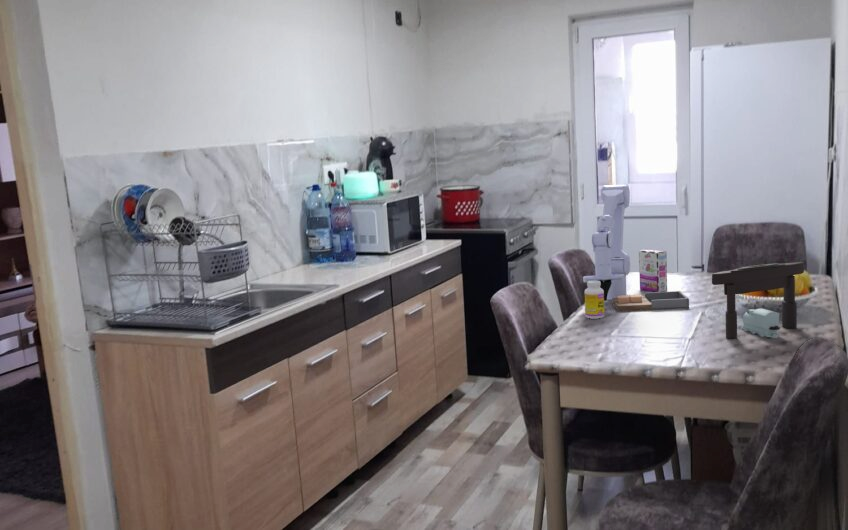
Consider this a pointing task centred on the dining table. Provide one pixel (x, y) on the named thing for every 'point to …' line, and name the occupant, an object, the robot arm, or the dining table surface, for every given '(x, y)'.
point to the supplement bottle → (594, 300)
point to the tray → (667, 300)
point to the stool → (753, 282)
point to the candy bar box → (653, 270)
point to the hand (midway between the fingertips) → (604, 300)
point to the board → (632, 305)
